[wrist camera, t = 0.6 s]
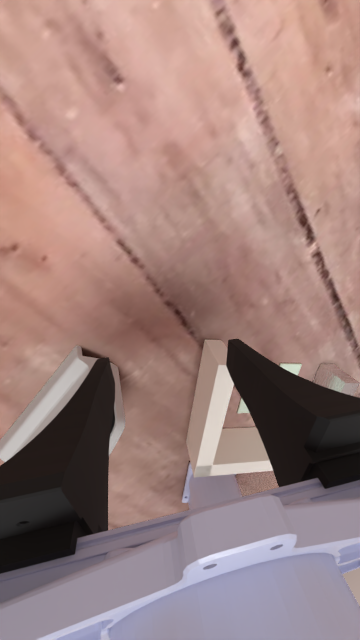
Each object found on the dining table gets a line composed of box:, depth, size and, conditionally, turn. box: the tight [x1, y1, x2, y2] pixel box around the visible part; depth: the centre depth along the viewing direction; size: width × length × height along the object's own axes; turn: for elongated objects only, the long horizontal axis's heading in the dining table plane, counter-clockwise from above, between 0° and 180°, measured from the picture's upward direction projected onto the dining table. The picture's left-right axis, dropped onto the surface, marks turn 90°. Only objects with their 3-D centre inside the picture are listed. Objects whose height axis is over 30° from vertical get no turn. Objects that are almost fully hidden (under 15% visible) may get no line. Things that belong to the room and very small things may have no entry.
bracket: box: [313, 364, 360, 398], centre depth 30 cm, size 7×6×4 cm
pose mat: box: [237, 363, 302, 413], centre depth 30 cm, size 8×7×1 cm
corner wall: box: [186, 339, 273, 478], centre depth 28 cm, size 16×18×5 cm
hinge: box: [0, 345, 125, 462], centre depth 23 cm, size 17×5×10 cm, turn 138°
